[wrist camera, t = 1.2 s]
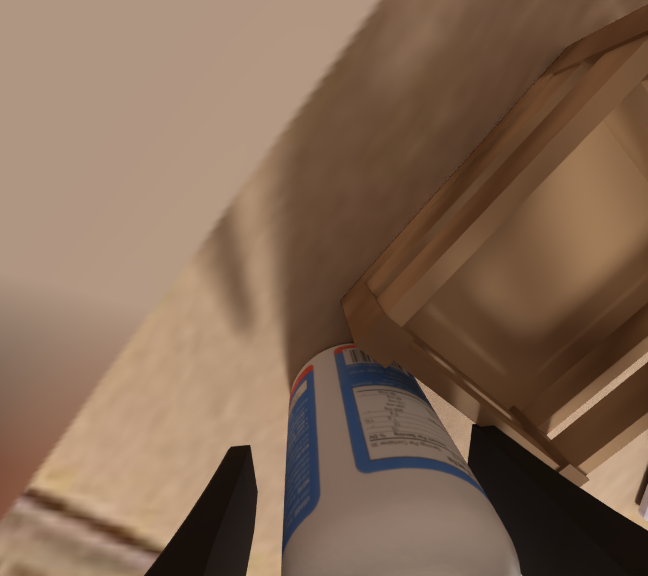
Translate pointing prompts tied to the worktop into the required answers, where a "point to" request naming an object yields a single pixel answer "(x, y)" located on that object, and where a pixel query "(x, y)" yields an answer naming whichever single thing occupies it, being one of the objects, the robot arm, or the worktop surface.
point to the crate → (534, 264)
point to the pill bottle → (380, 480)
